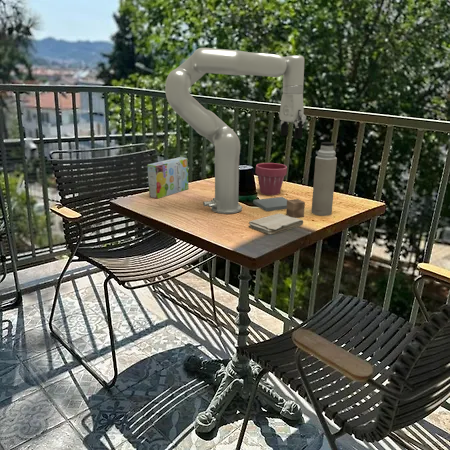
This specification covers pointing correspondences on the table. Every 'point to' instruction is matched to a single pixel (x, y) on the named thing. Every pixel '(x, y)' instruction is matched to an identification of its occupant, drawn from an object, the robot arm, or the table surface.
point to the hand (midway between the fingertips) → (291, 136)
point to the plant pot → (270, 177)
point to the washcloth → (275, 223)
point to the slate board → (271, 203)
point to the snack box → (168, 177)
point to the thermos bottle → (324, 180)
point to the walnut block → (295, 208)
